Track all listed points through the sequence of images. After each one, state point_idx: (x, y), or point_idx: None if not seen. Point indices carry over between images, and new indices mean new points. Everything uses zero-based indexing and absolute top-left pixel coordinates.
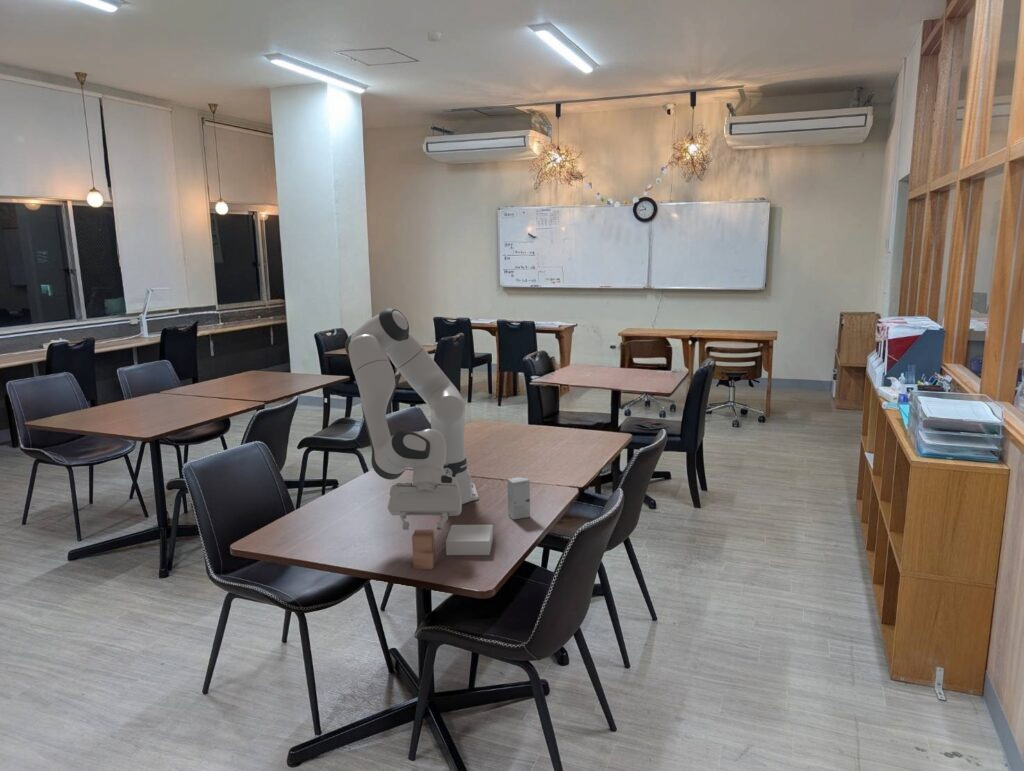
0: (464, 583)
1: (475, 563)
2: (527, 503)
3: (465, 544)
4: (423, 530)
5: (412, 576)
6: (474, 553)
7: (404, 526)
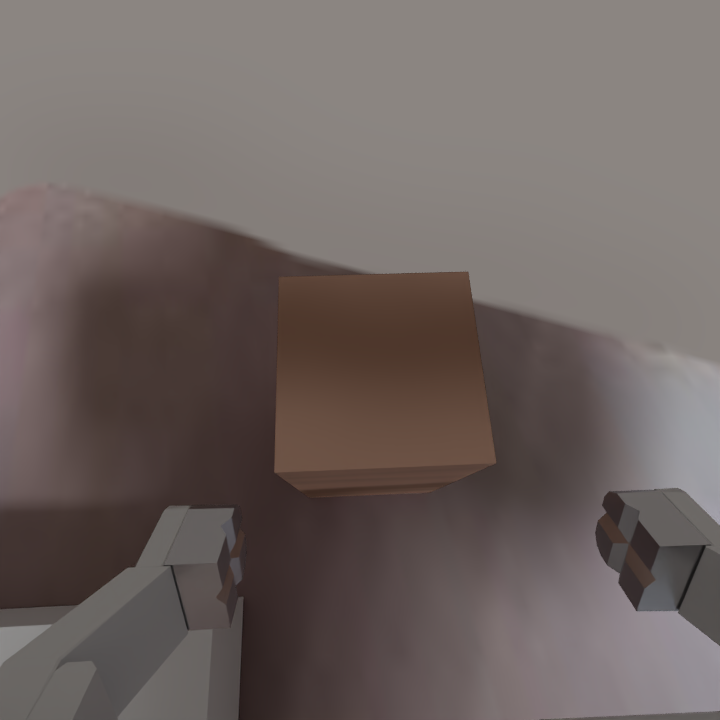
0: (120, 230)
1: (41, 464)
2: None
3: (46, 619)
4: (393, 440)
5: None
6: (25, 610)
7: (658, 492)
